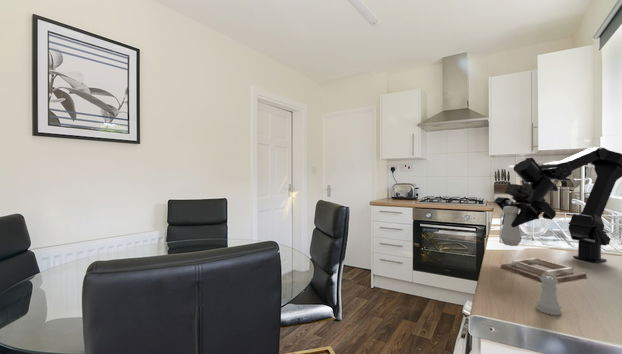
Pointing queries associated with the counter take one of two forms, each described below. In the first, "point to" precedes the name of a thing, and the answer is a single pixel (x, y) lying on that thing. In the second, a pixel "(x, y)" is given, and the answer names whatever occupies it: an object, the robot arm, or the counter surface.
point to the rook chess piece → (549, 296)
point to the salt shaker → (510, 227)
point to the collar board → (542, 269)
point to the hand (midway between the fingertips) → (507, 225)
